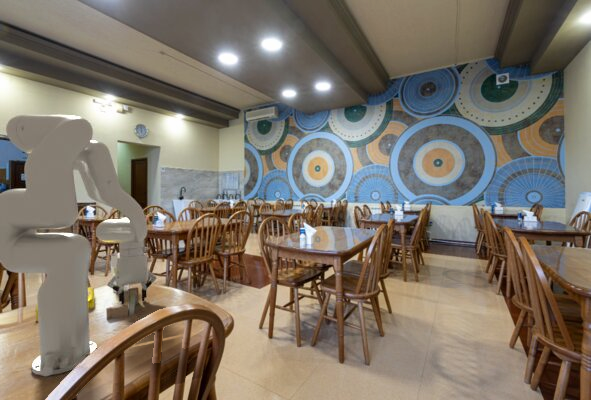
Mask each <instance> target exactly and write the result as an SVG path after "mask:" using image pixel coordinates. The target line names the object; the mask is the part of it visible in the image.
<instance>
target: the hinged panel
mask: <svg viewBox="0 0 591 400" xmlns="http://www.w3.org/2000/svg"><path fill="white" fill-rule="evenodd" d="M139 298H140V297H139V287H138V286H132V287H131V286H130V288H129V291H128V305H129V304H134V311H135V308H136V305H138V304H139V301H140V300H139Z"/></svg>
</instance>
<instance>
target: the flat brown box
mask: <svg viewBox="0 0 591 400" xmlns="http://www.w3.org/2000/svg"><path fill="white" fill-rule="evenodd" d="M105 311H106V320H112V319H116V318H123V317H128V316H133V315H135V310H134V304H129V303H128V304H123V305H116V306H112V307H111V306H109V307H107V308H106V310H105Z"/></svg>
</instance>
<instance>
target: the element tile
mask: <svg viewBox="0 0 591 400" xmlns="http://www.w3.org/2000/svg"><path fill="white" fill-rule="evenodd" d="M94 307H95V288H94V287H92V286H90V287H88V310H90V311H91V310H92V309H94ZM35 320H36V322H38V323H39V321H38V304H37V305H36V307H35Z"/></svg>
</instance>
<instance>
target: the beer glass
mask: <svg viewBox="0 0 591 400" xmlns="http://www.w3.org/2000/svg"><path fill="white" fill-rule="evenodd" d="M118 256H120V255H119V252H114V253H111V255H110V271H111V275H112V278H113V277H114V276H115V275H116V262H117V257H118ZM114 284H115V285H116V281H115V282H114ZM117 286H119V285H117ZM119 287H120V286H119ZM129 288H131V284H130V285H124V288H123V291H124V293H126V292H129V291H128V290H129ZM112 292H113V293H114V294H118V292H116V291H115V290H113V289H112Z"/></svg>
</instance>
